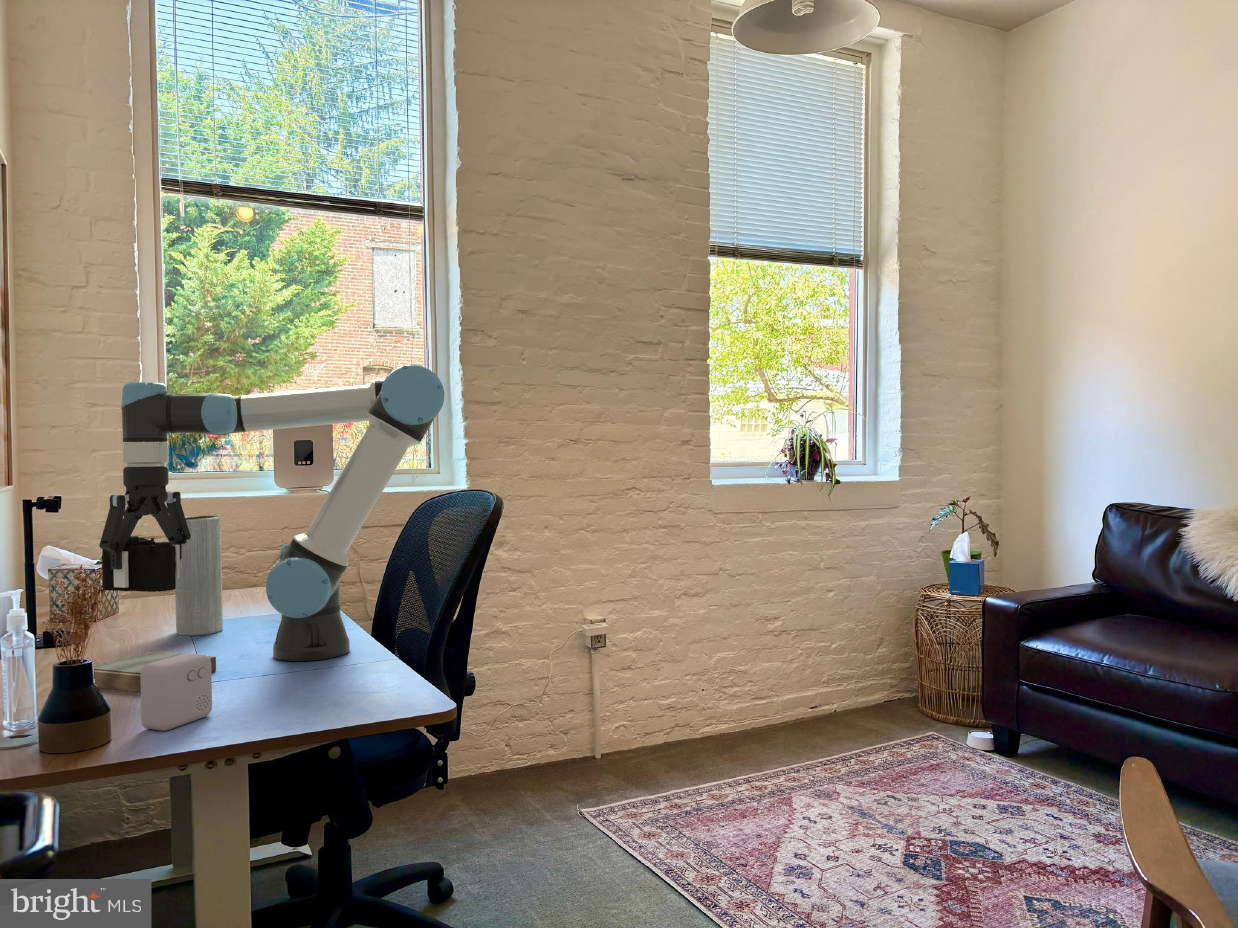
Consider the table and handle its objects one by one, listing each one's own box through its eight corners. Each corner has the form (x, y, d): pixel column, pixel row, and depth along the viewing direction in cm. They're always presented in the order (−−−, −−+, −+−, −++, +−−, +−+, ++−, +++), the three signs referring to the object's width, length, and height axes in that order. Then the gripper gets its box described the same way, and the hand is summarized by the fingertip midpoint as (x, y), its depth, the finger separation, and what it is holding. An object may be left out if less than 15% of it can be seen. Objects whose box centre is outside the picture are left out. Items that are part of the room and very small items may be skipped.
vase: (206, 636, 207) (203, 518, 206) (166, 635, 208) (164, 518, 208) (231, 627, 217) (229, 515, 216) (193, 627, 218) (191, 515, 218)
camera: (201, 583, 173) (200, 531, 172) (162, 592, 162) (161, 537, 162) (138, 582, 175) (136, 531, 175) (96, 591, 165) (94, 536, 165)
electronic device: (164, 734, 135) (162, 667, 135) (141, 730, 137) (140, 665, 137) (216, 715, 144) (215, 653, 144) (194, 712, 146) (193, 651, 146)
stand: (216, 670, 174) (215, 655, 174) (146, 692, 159) (146, 675, 159) (152, 665, 179) (152, 650, 179) (80, 685, 164) (79, 668, 164)
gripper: (180, 464, 181) (182, 573, 181) (74, 466, 159) (76, 590, 159) (209, 464, 178) (211, 574, 179) (105, 466, 156) (108, 592, 157)
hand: (148, 582), depth 169 cm, fingers closed on camera, 11 cm apart
